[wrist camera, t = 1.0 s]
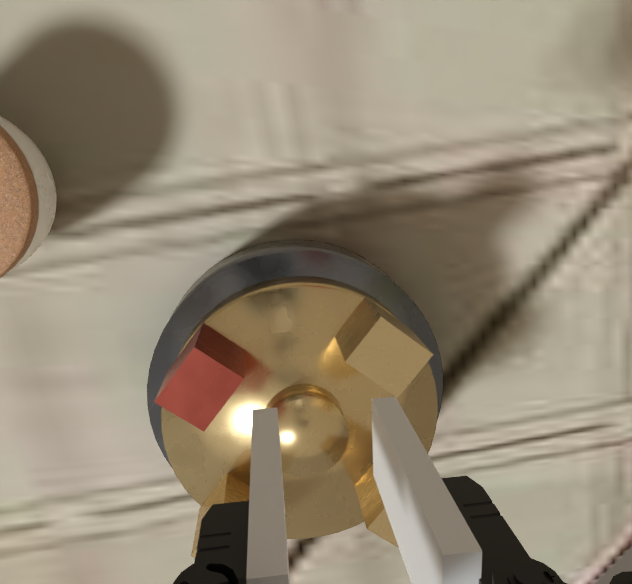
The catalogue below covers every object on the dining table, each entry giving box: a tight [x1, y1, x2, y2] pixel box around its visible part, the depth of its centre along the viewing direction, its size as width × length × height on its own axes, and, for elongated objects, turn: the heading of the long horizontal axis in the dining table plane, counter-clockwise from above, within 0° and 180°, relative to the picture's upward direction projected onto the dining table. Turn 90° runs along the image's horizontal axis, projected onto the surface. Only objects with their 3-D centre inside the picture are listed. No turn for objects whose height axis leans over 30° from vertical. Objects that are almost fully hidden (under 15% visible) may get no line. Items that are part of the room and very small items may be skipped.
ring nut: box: [154, 276, 438, 558], centre depth 31 cm, size 17×17×7 cm
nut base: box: [147, 239, 443, 467], centre depth 37 cm, size 20×20×5 cm
